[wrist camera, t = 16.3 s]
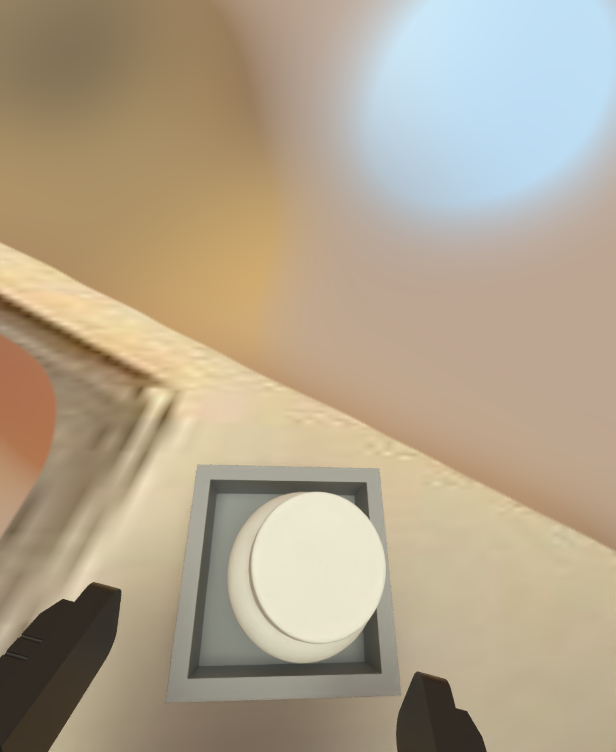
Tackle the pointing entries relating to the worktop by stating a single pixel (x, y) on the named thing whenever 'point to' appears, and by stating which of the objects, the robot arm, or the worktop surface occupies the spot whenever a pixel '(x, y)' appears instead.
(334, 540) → the supplement bottle
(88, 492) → the worktop surface
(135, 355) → the worktop surface
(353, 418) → the worktop surface
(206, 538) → the tower top
